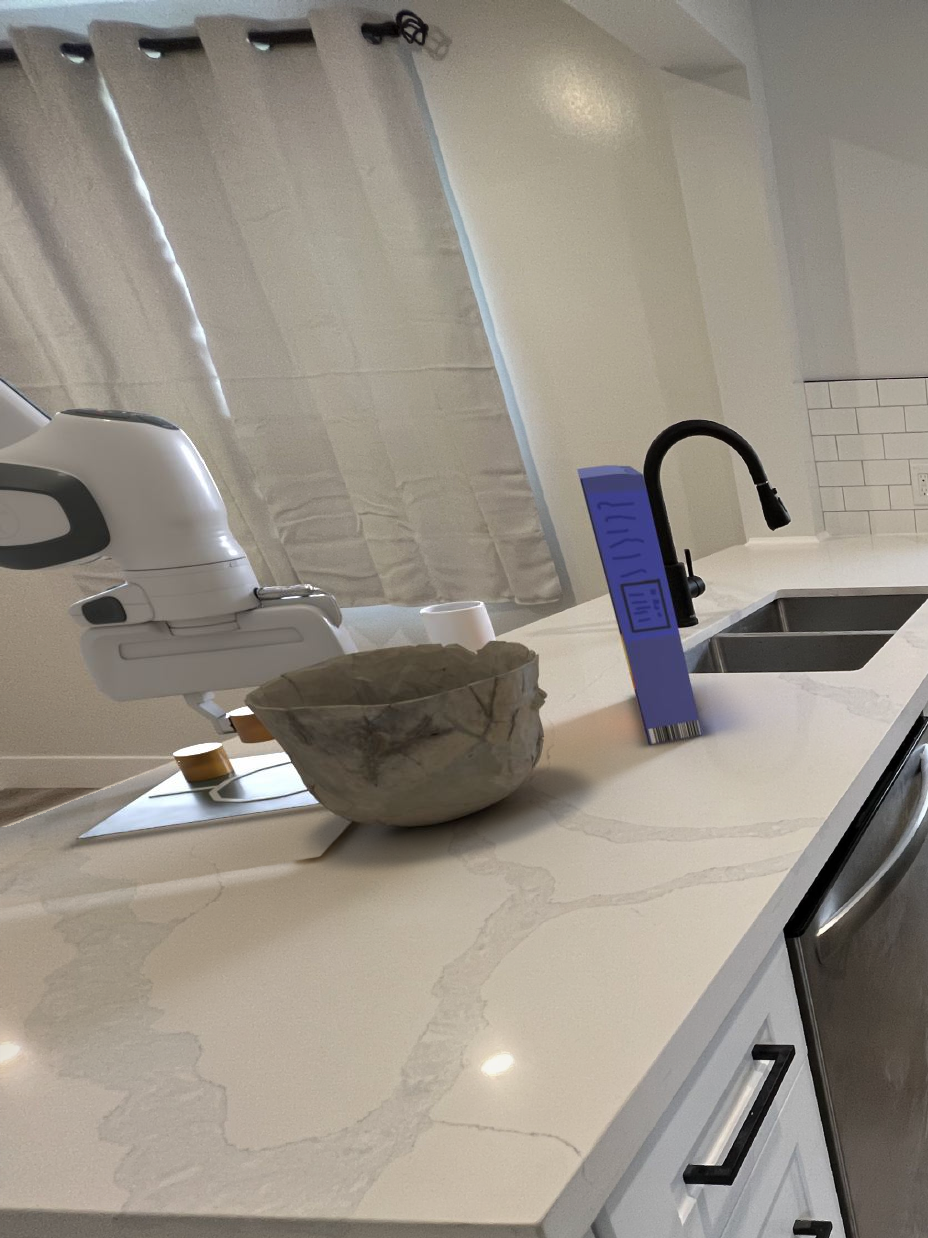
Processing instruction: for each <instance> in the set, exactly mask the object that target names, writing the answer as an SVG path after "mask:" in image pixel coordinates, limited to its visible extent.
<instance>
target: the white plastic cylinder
mask: <svg viewBox="0 0 928 1238" xmlns="http://www.w3.org/2000/svg"><path fill="white" fill-rule="evenodd" d="M420 614H421V618H422V621H423V625H424V628H425V631H426V634H427V637H428V639H429V643H430V644H441V645H442V646H443V647H445V646H446V645H448V644H455V643H457V644H459V645H461V646H462V647H464V648H466V649H467V650H469V651H471V652H474V653H475V654H476V655H477V650H479V649H482V648H483V647H484V646H485V645H486V644H487V643H488V642H489V641H497V638H496V635H495V631H494V627H493V624H492V621H491V618H490V616H489V615H490V614H489V613H488V610H487V607H486V604H485V603H484V602H483V601H478V600H466V601H454V602H447V603H440V604H435V605H431V606H428V607H427V606H426V607H424V608H422V609H421V610H420Z"/></svg>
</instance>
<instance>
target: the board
mask: <svg viewBox="0 0 928 1238" xmlns="http://www.w3.org/2000/svg"><path fill="white" fill-rule="evenodd" d="M229 760H230V762H231V764H232V766H233V768H234V770H233V771H232V772H230V773H228V774H226V775H223V776H220V777H217V778H213V779H209V780H203V781H186V780H185V778H184V776H183V774H182V772H181V770H179V771H178V772H176V773H175V774H173V775H171V776H170V777H168V778H167V779H165V780H164V781H162V782H161V783H159V784H157V785H155V786H154V787H153V788H152V789H150V790H149V791H147V792H145V793H144V794H142V795H141V796H140V797H137V798H136V799H135V800H133V801H132V802H130V803H129V804H126V805H125V806H124V807H122V808H121V809H119V810H118V811H116V812H115V813H113V814H112V815H110V816H109V817H107V818H106V819H104V820H103V821H101V822H100V823H98V824H96V825H95V826H93V827H92V828H90V829H88V830H87V831H85V832H84V833H83V834H81V835H80V836H78V837H76V840H82V839H89V838H96V837H101V836H102V837H103V836H109V835H115V834H122V833H128V832H129V833H130V832H136V831H144V830H149V829H156V828H164V827H171V826H177V825H184V824H191V823H198V822H204V821H211V820H218V819H226V818H233V817H239V816H246V815H247V816H248V815H253V814H260V813H267V812H274V811H280V810H288V809H294V808H300V807H307V806H314V805H321V804H320V803H319V802H318V801H317V800H316V799H315V798H314V797H313V796H312V794H310V793H309V791H308V790H307V788H306V787H305V785H304V784H303V782H302V779H301V777H300V775H299V774H298V772H297V771H296V769H295V767H294V766H293V764H292V763H291V761H290V758H289V757H288V755H287V754H286V753H285V751H284V752H277V753H267V754H260V755H253V756H252V755H251V756H245V757H237V758H229Z"/></svg>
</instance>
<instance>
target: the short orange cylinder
mask: <svg viewBox="0 0 928 1238" xmlns="http://www.w3.org/2000/svg"><path fill="white" fill-rule="evenodd" d="M172 757H173V758H174V760H175V762H176V764H177V767H178V768H179V771H181V772H182V774H183V776H184V778H185V780H186V781H203V780H209V779H213V778H217V777H220V776H223V775H226V774H228V773H230V772H232V771H233V770H234V768H233V766H232V764H231V762H230V760H229V759H230V758H229V756H228V753H227V751H226V750H225V747H224V745H223V744H222V743H220V742H207V743H201V744H196V745H191V746H188V747H184V748H181V749H179V750H177V751H175V752H173V754H172ZM178 761H180V762H178Z"/></svg>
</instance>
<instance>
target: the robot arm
mask: <svg viewBox="0 0 928 1238" xmlns="http://www.w3.org/2000/svg"><path fill="white" fill-rule="evenodd" d="M227 510H228V509H227V507H226V504H225V501H224V499H223V497H222V496H221V493H220V491H219V489H218V487H217V485H216V482H215V481H214V479H213V477H212V475H211V473H210V470H209V469H208V467H207V466H206V463H205V461H204V459H203V458H202V457H201V454H200V453H199V451H198V450H197V448H196V447H195V445H194V444H193V442H192V441H191V439H190V438H189V437H188V436H187V434H186V433H185V432H184V431H183V430H182V429H181V428H180V427H179V426H178V425H176V424H175V423H173V422H171V421H169V420H167V419H165V418H163V417H160V416H156V415H152V414H147V413H142V412H141V413H140V412H134V411H126V410H125V411H124V410H115V409H98V408H87V407H83V408H82V407H79V408H75V407H74V408H67V409H63V410H60V411H58V412H56V413H55V414H54V416H52V415H51V414H49V413H48V412H47V411H45V410H44V409H43V408H42V407H41V406H40V405H38V404H37V403H36V402H34V401H33V400H31V398H30V397H29V396H27V395H26V394H25V393H23V392H22V391H21V390H20V389H19V388H17V387H16V386H14V384H12V383H11V382H10V381H8V380H7V379H6V378H5V377H3V376H2V375H1V374H0V568H5V569H9V570H18V571H34V572H35V571H38V572H39V571H41V572H42V571H46V572H47V571H54V570H59V569H66V568H70V567H76V566H83V565H87V564H92V563H96V562H100V561H104V560H113V561H114V562H115V563H116V564H117V565H118V567H119V569H120V571H121V573H122V576H123V577H124V579H125V583H123V584H118V585H114V586H111V587H109V588H107V589H106V591H103V592H101V593H98V594H96V595H92V596H90V597H87V598H85V599H82V600H79V601H77V602H75V603H73V604H70V605H69V606H68V608H67V614H68V616H69V618H70V619H71V621H72V622H73V623H74V624H75V625H77V626H78V627H80V628H86V629H85V630H83V631H82V633H81V634H80V636H79V642H78V643H79V649H80V653H81V655H82V657H83V661H84V663H85V665H86V668H87V670H88V672H89V674H90V676H91V678H92V680H93V683H94V684H95V686H96V688H97V689H98V691H99V692H100V693H101V694H102V695H104V696H105V697H107V698H109V699H111V700H112V701H114V702H117V703H122V702H131V701H132V702H133V701H139V700H149V699H155V698H156V699H159V698H166V697H174V696H182V697H183V699H184V701H185V703H186V705H187V706H188V707H190V708H191V709H192V710H194V711H195V712H197V713H198V714H200V716H203V717H204V718H205V719H207V720H210V722H211V724H212V727H213V729H214V730H215V732H216V734H217V735H218V736H222V735H223V736H224V735H230V734H238V733H237V731H236V729H235V727H234V725H233V723H232V721H231V719H230V717H229V713H230V712H226V711H225V710H224V709H222V708H221V707H220V706H219V705H218V704H216V703H215V702H214V701H213V700H212V699H215V697H216V695H215V693H214V692H219V691H221V692H222V691H229V690H238V689H246V688H256V687H260V686H261V685H263V684H265V683H266V682H268V681H270V680H273V679H275V678H277V677H280V675H281V674H284V673H286V672H290V671H294V670H297V669H301V668H304V667H308V666H311V665H314V664H317V663H320V662H323V661H327V660H328V659H330V658H334V657H337V656H341V655H347V654H352V653H358V652H359V650H358V648H357V646H356V643H355V642H354V640H353V638H352V636H351V635H350V632H349V630H348V629H347V628H346V625H344V622H343V614H342V610H341V608H340V606H339V603H338V601H337V599H336V598H335V596H334V595H332V593H329V592H328V591H326V590H325V589H322V588H318V587H314V585H313V584H297V585H294V586H293V585H292V586H271V587H268V586H267V587H261V585H260V583H259V582H258V578H257V576H256V574H255V572H254V569H253V567H252V564H251V563H250V559H249V558H248V556H247V553H246V551H245V550H244V548H243V547H242V546H241V545H240V544H239V542H238V541H237V540H236V538H235V537H234V535H233V534H232V531H231V529H230V525H229V520H228V511H227ZM316 593H318V594H316Z"/></svg>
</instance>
